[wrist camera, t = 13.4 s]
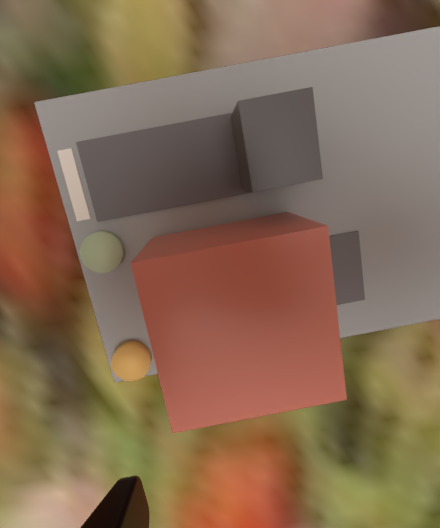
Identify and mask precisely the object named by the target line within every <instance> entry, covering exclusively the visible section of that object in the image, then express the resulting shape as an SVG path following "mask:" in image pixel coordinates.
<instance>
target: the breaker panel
mask: <svg viewBox="0 0 440 528" xmlns="http://www.w3.org/2000/svg"><path fill="white" fill-rule="evenodd" d="M309 87H313V95H314V104H315V113H316V122H317V131H318V139H319V148H320V157H321V166H322V175H323V179H321V180H315V181H310V182H305V183H300V184H294V185H289V186H284V187H279V188H273V189H268V190H263V191H258V192H248V191H244V190H243V189H242V183H241V177H240V171H239V165H238V159H237V153H236V147H235V141H234V135H233V129H232V123H231V115H232V112H233V110H234V108H235V106H236V104H237V102H238V101H240V100H245V99H250V98H256V97H261V96H266V95H272V94H277V93H282V92H288V91H293V90H298V89H303V88H309ZM34 103H35V107H36V110H37V114H38V117H39V121H40V124H41V128H42V131H43V135H44V138H45V142H46V145H47V149H48V152H49V156H50V159H51V163H52V166H53V170H54V173H55V177H56V180H57V184H58V187H59V191H60V194H61V198H62V201H63V205H64V208H65V212H66V215H67V219H68V222H69V226H70V229H71V233H72V236H73V240H74V243H75V247H76V250H77V254H78V257H79V261H80V264H81V268H82V271H83V275H84V278H85V282H86V285H87V289H88V292H89V295H90V299H91V302H92V306H93V309H94V313H95V316H96V320H97V323H98V327H99V330H100V334H101V337H102V341H103V344H104V348H105V351H106V355H107V358H108V362H109V365H110V369H111V372H112V376H113V379H114V382H118V381H123V380H126V381H136V380H139V379H141V378H143V377H144V376H149V375H154V374H158V372H157V368H156V364H155V360H154V356H153V352H152V348H151V344H150V340H149V336H148V332H147V328H146V324H145V320H144V316H143V312H142V308H141V303H140V299H139V295H138V291H137V287H136V283H135V279H134V275H133V271H132V267H131V262H132V261H133V259H134V258H135V257H136V256H137V255H138V254H139V252H140V251H141V250H142V249H143V248H144V247H145V245H146V244H147V243H148V242H149V241H150V239H151V238H152V237H156V236H162V235H167V234H172V233H178V232H183V231H188V230H194V229H199V228H205V227H210V226H215V225H221V224H226V223H231V222H237V221H242V220H247V219H253V218H258V217H263V216H269V215H274V214H279V213H285V212H290V213H293V214H296V215H299V216H302V217H304V218H307V219H310V220H313V221H316V222H318V223H321V224H324V225H327V226H328V230H329V239H330V249H331V258H332V267H333V276H334V286H335V295H336V304H337V313H338V323H339V332H340V338H344V337H349V336H354V335H359V334H364V333H369V332H375V331H380V330H385V329H390V328H395V327H400V326H405V325H410V324H416V323H421V322H426V321H431V320H436V319H440V26H439V27H434V28H429V29H423V30H418V31H413V32H407V33H402V34H397V35H391V36H386V37H380V38H375V39H370V40H364V41H359V42H354V43H348V44H343V45H338V46H332V47H327V48H322V49H316V50H311V51H306V52H300V53H295V54H290V55H284V56H279V57H273V58H268V59H263V60H257V61H252V62H247V63H241V64H236V65H231V66H225V67H220V68H215V69H209V70H204V71H199V72H193V73H188V74H183V75H177V76H172V77H166V78H161V79H156V80H150V81H145V82H140V83H134V84H129V85H124V86H118V87H113V88H108V89H102V90H97V91H92V92H86V93H81V94H76V95H70V96H65V97H59V98H54V99H49V100H43V101H38V102H34Z"/></svg>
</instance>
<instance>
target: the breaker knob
mask: <svg viewBox="0 0 440 528" xmlns="http://www.w3.org/2000/svg"><path fill="white" fill-rule="evenodd" d="M231 123H232V129H233V135H234V141H235V147H236V153H237V159H238V165H239V171H240V177H241V183H242V189H243V190H244V191H248V192H258V191H263V190H268V189H273V188H279V187H284V186H289V185H294V184H300V183H305V182H310V181H315V180H321V179H323V175H322V166H321V157H320V148H319V139H318V131H317V122H316V113H315V104H314V95H313V87H309V88H303V89H298V90H293V91H288V92H282V93H277V94H272V95H266V96H261V97H256V98H250V99H245V100H240V101H238V102H237V104H236V106H235V108H234V110H233V112H232V115H231Z"/></svg>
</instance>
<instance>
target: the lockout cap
mask: <svg viewBox="0 0 440 528" xmlns="http://www.w3.org/2000/svg"><path fill="white" fill-rule="evenodd" d="M131 267H132V271H133V275H134V279H135V283H136V287H137V291H138V295H139V299H140V303H141V308H142V312H143V316H144V320H145V324H146V328H147V332H148V336H149V340H150V344H151V348H152V352H153V356H154V360H155V364H156V368H157V372H158V376H159V380H160V384H161V388H162V392H163V396H164V401H165V405H166V409H167V413H168V417H169V421H170V425H171V429H172V433H176V432H182V431H187V430H192V429H197V428H202V427H208V426H213V425H218V424H223V423H228V422H233V421H239V420H244V419H249V418H254V417H259V416H264V415H270V414H275V413H280V412H285V411H290V410H296V409H301V408H306V407H311V406H316V405H321V404H327V403H332V402H337V401H342V400H347V396H346V387H345V378H344V369H343V359H342V350H341V341H340V332H339V323H338V313H337V304H336V295H335V286H334V276H333V267H332V258H331V249H330V239H329V230H328V226H327V225H324V224H321V223H318V222H316V221H313V220H310V219H307V218H304V217H302V216H299V215H296V214H293V213H290V212H285V213H279V214H274V215H269V216H263V217H258V218H253V219H247V220H242V221H237V222H231V223H226V224H221V225H215V226H210V227H205V228H199V229H194V230H188V231H183V232H178V233H172V234H167V235H162V236H156V237H152V238H151V239H150V241H149V242H148V243H147V244H146V245H145V247H144V248H143V249H142V250H141V251H140V252H139V254H138V255H137V256H136V257H135V258H134V259H133V261H132V262H131Z"/></svg>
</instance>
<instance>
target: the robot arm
mask: <svg viewBox="0 0 440 528" xmlns="http://www.w3.org/2000/svg"><path fill="white" fill-rule="evenodd" d="M81 528H149V507H148V503H147V499H146V496H145V492H144V489H143V485H142V482H141V479H140V478H139V477H138V476H131V477H125V478H121V479H119V480H118V481H117V482H116V484H115V485H114V486H113V487H112V489H111V490H110V491H109V492H108V494H107V495H106V496H105V497H104V499H103V500H102V501H101V503H100V504H99V505H98V506H97V508H96V509H95V510H94V511H93V513H92V514H91V515H90V516H89V518H88V519H87V520H86V521H85V523H84V524H83V525H82V526H81Z"/></svg>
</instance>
